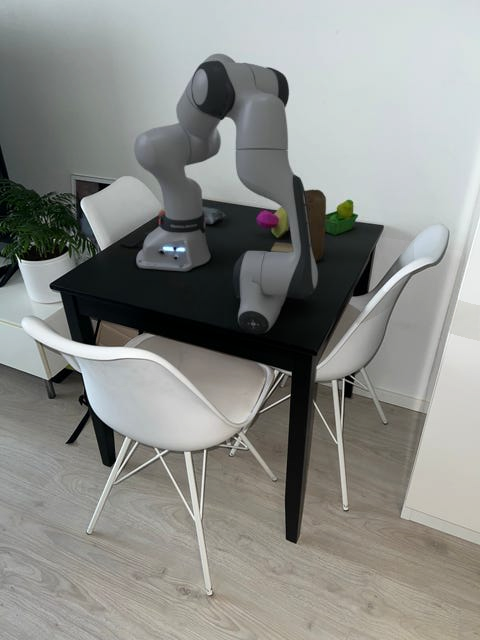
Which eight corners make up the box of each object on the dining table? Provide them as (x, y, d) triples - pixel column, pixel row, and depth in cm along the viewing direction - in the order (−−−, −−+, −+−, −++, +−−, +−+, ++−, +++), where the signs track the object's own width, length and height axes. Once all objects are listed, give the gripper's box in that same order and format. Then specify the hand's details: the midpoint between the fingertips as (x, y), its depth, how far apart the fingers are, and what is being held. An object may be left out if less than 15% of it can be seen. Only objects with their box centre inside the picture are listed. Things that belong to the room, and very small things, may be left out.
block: (323, 263, 151) (329, 198, 141) (298, 264, 151) (302, 199, 140) (316, 248, 160) (320, 185, 150) (292, 249, 160) (295, 186, 149)
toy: (310, 241, 167) (314, 210, 166) (261, 233, 160) (265, 200, 159) (295, 242, 176) (299, 212, 175) (248, 234, 169) (252, 203, 168)
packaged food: (213, 229, 175) (212, 215, 172) (184, 223, 180) (183, 209, 177) (226, 221, 181) (225, 207, 179) (198, 215, 186) (197, 202, 184)
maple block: (289, 289, 138) (291, 252, 132) (270, 287, 139) (270, 250, 133) (293, 280, 142) (295, 244, 136) (274, 278, 144) (275, 242, 138)
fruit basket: (340, 222, 178) (343, 191, 172) (360, 230, 172) (364, 197, 166) (318, 230, 172) (320, 198, 166) (337, 238, 167) (340, 205, 160)
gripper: (312, 283, 121) (320, 259, 132) (230, 274, 125) (245, 251, 137) (310, 306, 124) (319, 281, 135) (230, 296, 129) (245, 272, 140)
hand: (281, 266), depth 136 cm, fingers open, 8 cm apart
